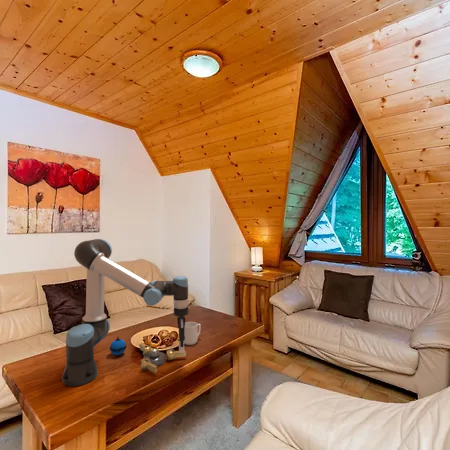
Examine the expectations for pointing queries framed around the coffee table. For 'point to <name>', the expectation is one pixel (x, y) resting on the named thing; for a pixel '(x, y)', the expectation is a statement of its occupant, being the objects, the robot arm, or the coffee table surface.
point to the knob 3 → (174, 354)
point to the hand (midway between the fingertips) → (181, 352)
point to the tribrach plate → (157, 361)
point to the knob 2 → (148, 365)
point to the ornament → (117, 346)
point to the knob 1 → (145, 349)
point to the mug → (191, 332)
